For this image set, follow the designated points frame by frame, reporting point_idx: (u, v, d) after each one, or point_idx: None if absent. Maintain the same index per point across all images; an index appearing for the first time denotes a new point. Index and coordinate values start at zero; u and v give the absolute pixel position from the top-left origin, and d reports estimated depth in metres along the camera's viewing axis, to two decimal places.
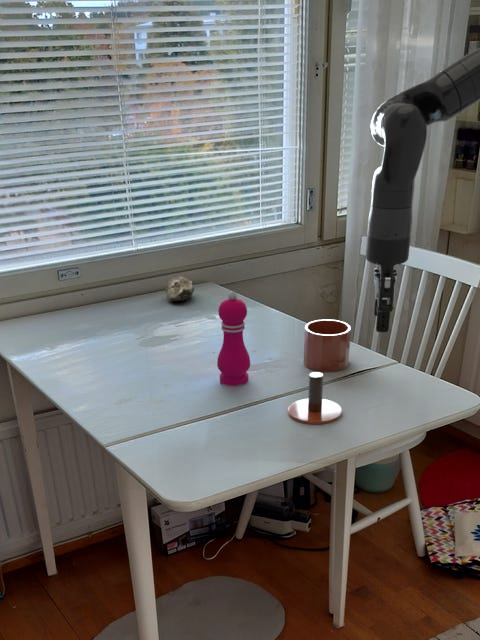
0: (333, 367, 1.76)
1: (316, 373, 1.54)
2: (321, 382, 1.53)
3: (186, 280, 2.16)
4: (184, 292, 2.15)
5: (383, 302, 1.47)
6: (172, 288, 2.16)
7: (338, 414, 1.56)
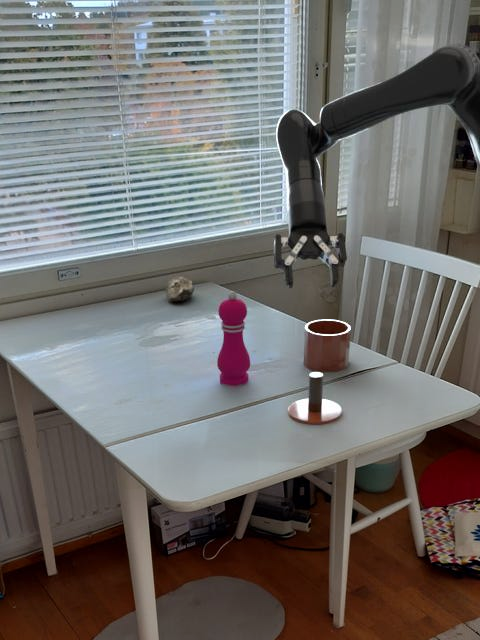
0: (333, 367, 1.76)
1: (316, 373, 1.54)
2: (321, 382, 1.53)
3: (186, 280, 2.16)
4: (184, 292, 2.15)
5: (331, 271, 1.54)
6: (172, 288, 2.16)
7: (338, 414, 1.56)
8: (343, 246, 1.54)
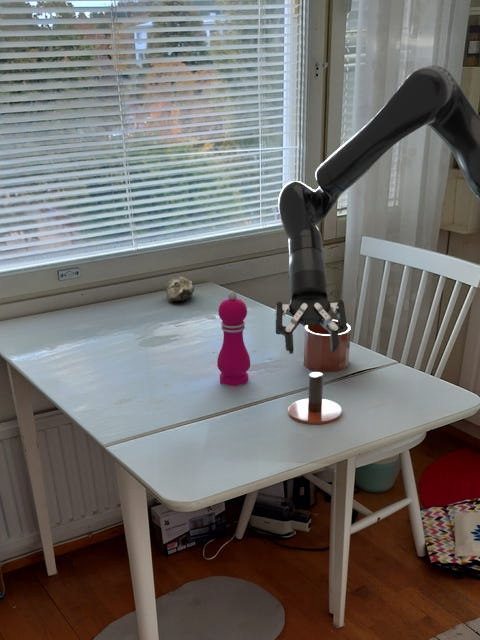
0: (333, 367, 1.76)
1: (316, 373, 1.54)
2: (321, 382, 1.53)
3: (186, 280, 2.16)
4: (184, 292, 2.15)
5: (331, 337, 1.58)
6: (172, 288, 2.16)
7: (338, 414, 1.56)
8: (343, 313, 1.58)
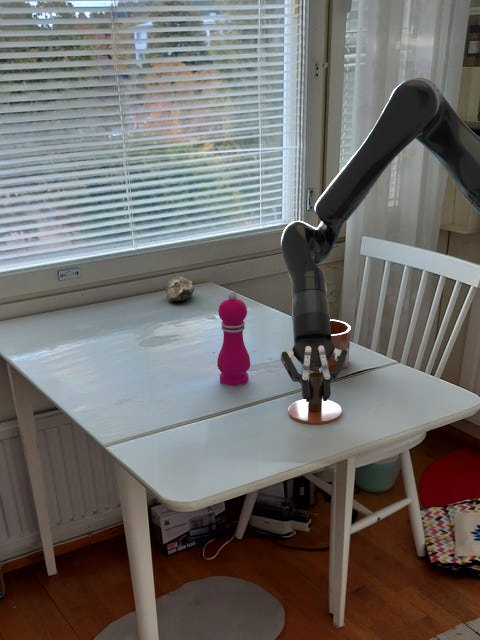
0: (333, 367, 1.76)
1: (316, 373, 1.54)
2: (321, 382, 1.53)
3: (186, 280, 2.16)
4: (184, 292, 2.15)
5: (323, 386, 1.54)
6: (172, 288, 2.16)
7: (338, 414, 1.56)
8: (341, 362, 1.55)
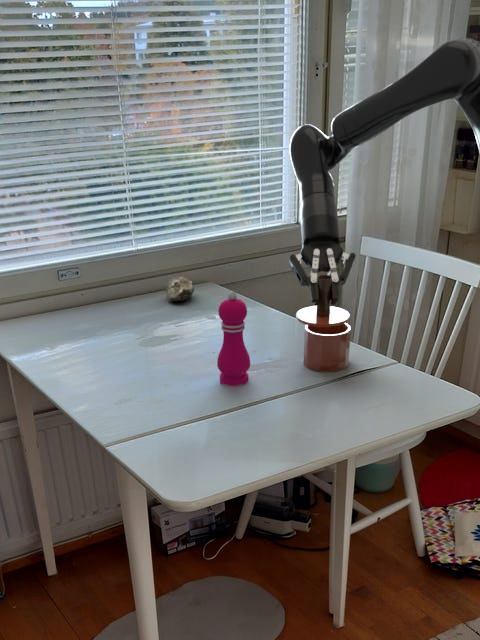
0: (333, 367, 1.76)
1: (324, 276, 1.54)
2: (329, 284, 1.53)
3: (186, 280, 2.16)
4: (184, 292, 2.15)
5: (331, 289, 1.54)
6: (172, 288, 2.16)
7: (346, 318, 1.56)
8: (349, 265, 1.55)
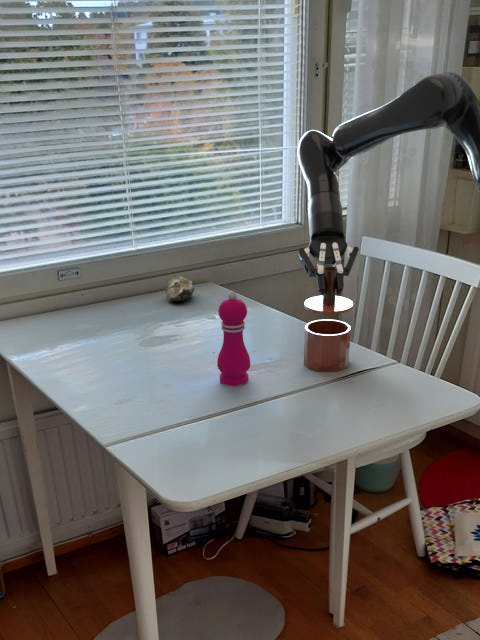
0: (333, 367, 1.76)
1: (330, 267, 1.69)
2: (335, 275, 1.68)
3: (186, 280, 2.16)
4: (184, 292, 2.15)
5: (336, 280, 1.69)
6: (172, 288, 2.16)
7: (350, 306, 1.70)
8: (353, 258, 1.69)
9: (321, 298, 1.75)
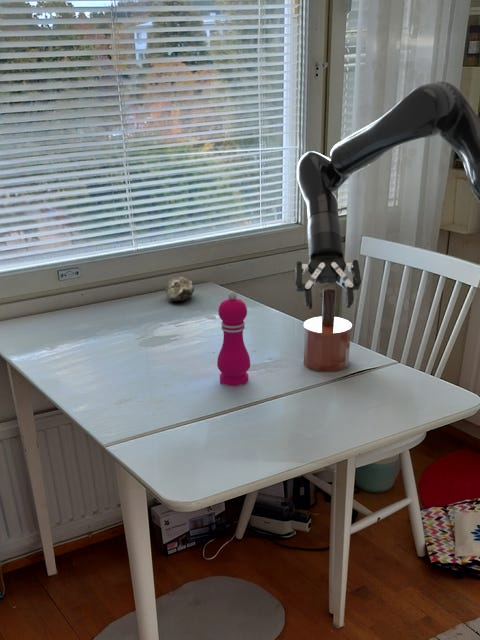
0: (333, 367, 1.76)
1: (329, 290, 1.71)
2: (334, 298, 1.71)
3: (186, 280, 2.16)
4: (184, 292, 2.15)
5: (346, 294, 1.72)
6: (172, 288, 2.16)
7: (349, 328, 1.73)
8: (358, 271, 1.72)
9: (320, 319, 1.78)
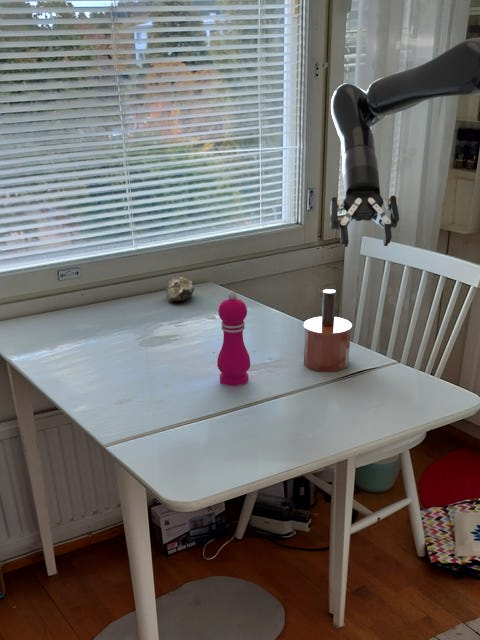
0: (333, 367, 1.76)
1: (329, 290, 1.71)
2: (334, 298, 1.71)
3: (186, 280, 2.16)
4: (184, 292, 2.15)
5: (384, 231, 1.64)
6: (172, 288, 2.16)
7: (349, 328, 1.73)
8: (395, 207, 1.65)
9: (320, 319, 1.78)
